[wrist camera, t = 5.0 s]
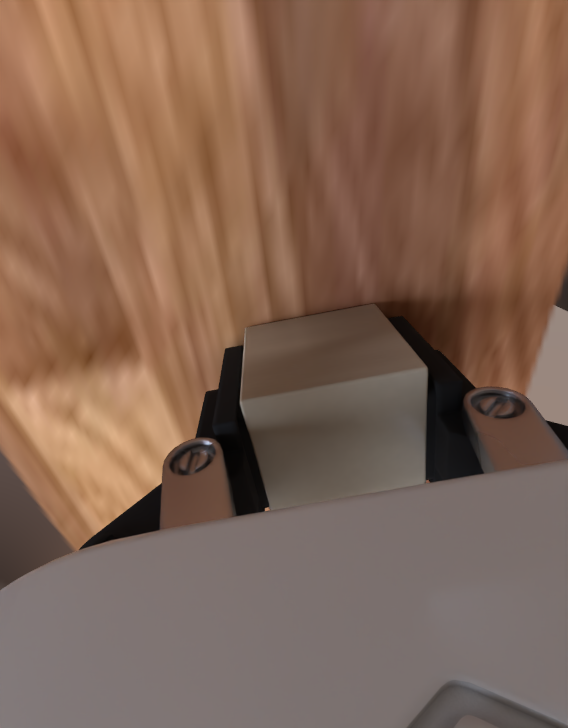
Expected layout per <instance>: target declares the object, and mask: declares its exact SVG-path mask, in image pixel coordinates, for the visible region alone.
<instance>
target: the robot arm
mask: <svg viewBox="0 0 568 728" xmlns="http://www.w3.org/2000/svg"><path fill="white" fill-rule="evenodd" d="M387 319H388V320H389V321H390V323H391V324H392V325H393V326H394V327H395V329H396V330H397V331H398V332H399V333H400V335H401V336H402V337H403V338H404V340H405V341H406V342H407V343H408V344H409V346H410V347H411V348H412V349H413V350H414V352H415V353H416V354H417V355H418V356H419V358H420V359H421V360H422V361H423V362H424V364H425V365H426V366H427V368H428V395H427V429H426V480H429V481H430V483H426V484H420V485H414V486H408V487H402V488H397V489H391V490H385V491H379V492H373V493H368V494H362V495H356V496H350V497H344V498H339V499H333V500H327V501H321V502H316V503H310V504H304V505H298V506H293V507H287V508H281V509H275V510H270V511H265V508H267V507H269V502H268V498H267V495H266V491H265V488H264V484H263V481H262V477H261V474H260V470H259V466H258V463H257V459H256V456H255V452H254V449H253V445H252V442H251V438H250V435H249V431H248V429H247V426H246V424H245V420H244V417H243V413H242V410H241V406H240V390H241V376H242V363H243V349H244V348H243V346H237V347H231V348H226V349H225V353H224V359H223V365H222V370H221V376H220V382H219V388H218V389H217V390H212V391H207V392H206V394H205V398H204V402H203V407H202V411H201V416H200V420H199V425H198V429H197V434H196V438H195V439H191V440H189V441H186V442H184V443H182V444H180V445H179V446H177V447H175V448H174V449H173V450H172V451H171V452H170V453H169V454H168V456H167V457H166V459H165V460H164V464H163V472H162V483H161V484H160V485H159V486H157V487H156V488H155V489H154V490H152V491H151V492H150V493H148V494H147V495H146V496H145V497H143V498H142V499H141V500H139V501H138V502H137V503H136V504H134V505H133V506H132V507H130V508H129V509H128V510H127V511H125V512H124V513H123V514H121V515H120V516H119V517H118V518H116V519H115V520H114V521H112V522H111V523H110V524H109V525H107V526H106V527H105V528H103V529H102V530H101V531H100V532H98V533H97V534H96V535H94V536H93V537H92V538H91V539H89V540H88V541H87V542H86V543H85V544H84V545H83V546H82V547H81V548H80V549H79V550H78V551H76V552H73V553H71V554H68V555H66V556H63V557H60V558H58V559H55V560H53V561H51V562H49V563H47V564H45V565H43V566H41V567H39V568H37V569H35V570H33V571H31V572H29V573H27V574H26V575H24V576H22V577H20V578H19V579H17V580H15V581H14V582H12V583H11V584H9V585H8V586H6V587H5V588H3V589H2V590H0V728H568V426H565V425H562V424H558V423H554V422H550V421H546V420H545V419H544V418H543V417H542V416H541V414H540V413H539V411H538V410H537V409H536V407H535V406H534V405H533V403H532V402H531V401H530V400H529V399H528V398H527V397H526V396H524V395H522V394H521V393H519V392H517V391H514V390H511V389H508V388H502V387H489V386H487V387H480V388H475V387H474V386H473V385H472V384H471V383H470V381H469V380H468V379H467V378H466V377H465V376H464V375H463V374H462V373H461V372H460V371H459V370H458V369H457V368H456V367H455V366H454V365H453V364H452V363H451V362H450V361H449V360H448V359H447V358H446V357H445V356H444V355H443V354H442V352H440V351H439V350H434V349H433V348H432V347H431V346H430V345H429V344H428V343H427V342H426V341H425V340H424V339H423V337H422V336H421V335H420V334H419V333H418V332H417V331H416V330H415V329H414V328H413V327H412V326H411V325H410V324H409V323H408V321H407V320H406V319H405V318H404V317H403V316H398V317H393V318H387Z"/></svg>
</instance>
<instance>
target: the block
mask: <svg viewBox="0 0 568 728" xmlns="http://www.w3.org/2000/svg"><path fill="white" fill-rule="evenodd" d="M427 395H428V368H427V366H426V365H425V364H424V362H423V361H422V360H421V359H420V358H419V356H418V355H417V354H416V353H415V352H414V350H413V349H412V348H411V347H410V346H409V344H408V343H407V342H406V341H405V340H404V338H403V337H402V336H401V335H400V333H399V332H398V331H397V330H396V329H395V327H394V326H393V325H392V324H391V323H390V321H389V320H388V319H387V318H386V317H385V315H384V314H383V313H382V312H381V311H380V309H379V308H378V307H377V306H376V305H375V304H369V305H364V306H358V307H353V308H348V309H342V310H337V311H332V312H326V313H321V314H316V315H310V316H305V317H300V318H294V319H289V320H284V321H278V322H273V323H268V324H262V325H257V326H251V327H247V328H245V336H244V349H243V363H242V376H241V390H240V406H241V410H242V413H243V417H244V420H245V424H246V426H247V429H248V431H249V435H250V438H251V442H252V445H253V449H254V452H255V456H256V459H257V463H258V466H259V470H260V474H261V477H262V481H263V484H264V488H265V491H266V495H267V498H268V502H269V508H270V510H275V509H281V508H287V507H293V506H298V505H304V504H310V503H316V502H321V501H327V500H333V499H339V498H344V497H350V496H356V495H362V494H368V493H373V492H379V491H385V490H391V489H397V488H402V487H408V486H414V485H420V484H426V429H427Z"/></svg>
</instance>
